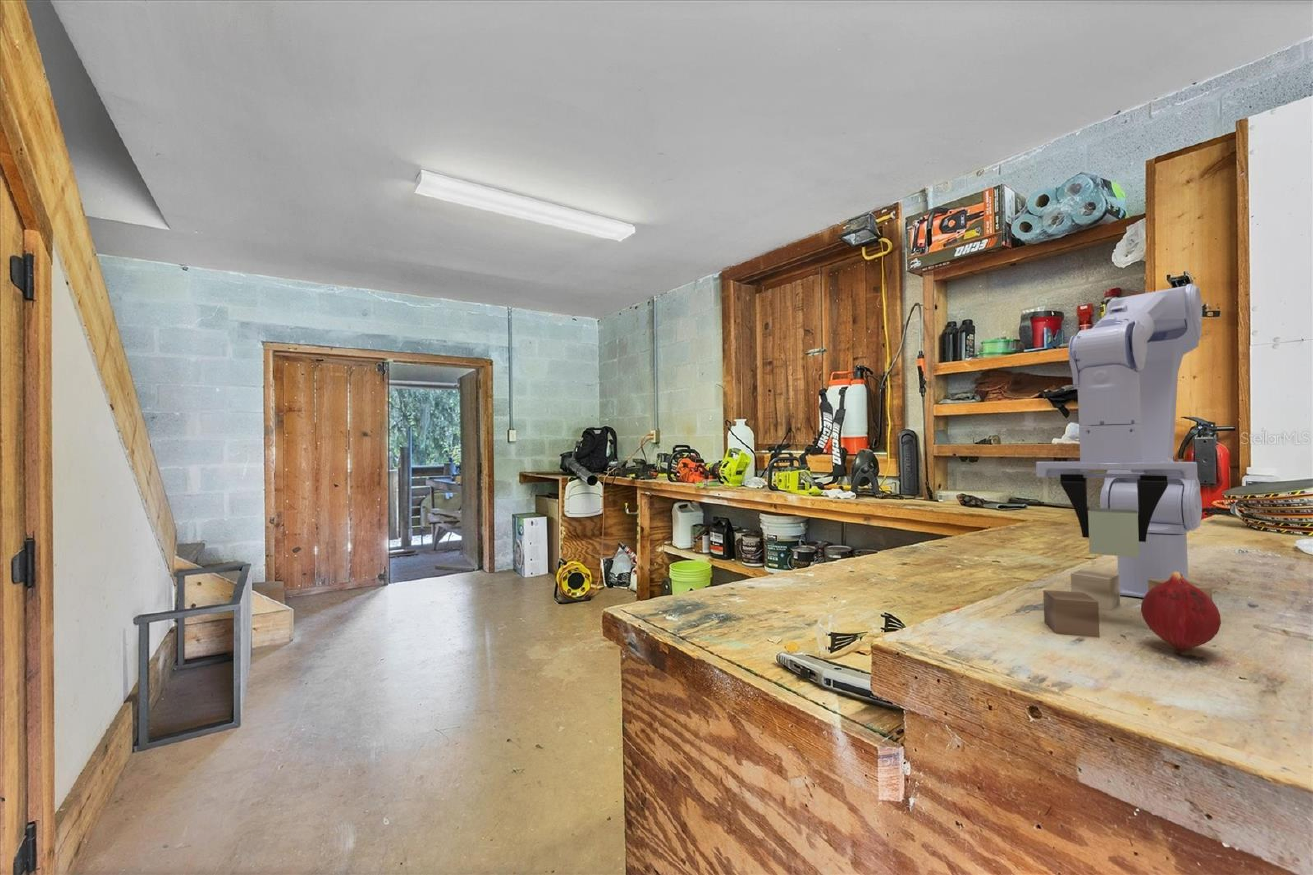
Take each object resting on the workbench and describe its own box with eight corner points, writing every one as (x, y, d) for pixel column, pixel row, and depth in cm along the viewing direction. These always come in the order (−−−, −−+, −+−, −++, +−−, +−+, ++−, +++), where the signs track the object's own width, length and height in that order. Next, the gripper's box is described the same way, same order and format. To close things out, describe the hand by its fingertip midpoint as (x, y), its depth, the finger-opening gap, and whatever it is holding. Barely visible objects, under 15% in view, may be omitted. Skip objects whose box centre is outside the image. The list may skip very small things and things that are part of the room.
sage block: (1090, 547, 67) (1089, 507, 67) (1137, 551, 64) (1136, 509, 64) (1089, 553, 63) (1088, 511, 63) (1139, 557, 60) (1137, 513, 60)
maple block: (1082, 598, 73) (1081, 569, 73) (1119, 605, 70) (1118, 574, 70) (1071, 603, 71) (1070, 573, 71) (1109, 610, 68) (1108, 579, 68)
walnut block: (1044, 623, 64) (1043, 589, 64) (1084, 626, 62) (1083, 592, 62) (1056, 634, 60) (1054, 599, 60) (1099, 638, 59) (1098, 601, 59)
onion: (1239, 663, 51) (1236, 580, 51) (1169, 660, 52) (1166, 578, 52) (1191, 641, 57) (1189, 566, 57) (1129, 638, 58) (1127, 565, 58)
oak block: (1148, 610, 67) (1147, 579, 68) (1182, 611, 67) (1181, 579, 67) (1176, 621, 63) (1175, 587, 64) (1213, 621, 63) (1211, 587, 63)
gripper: (1032, 427, 66) (1035, 537, 65) (1199, 422, 56) (1204, 550, 56) (1037, 428, 71) (1041, 529, 71) (1191, 423, 61) (1195, 540, 61)
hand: (1113, 538), depth 64 cm, fingers closed on sage block, 4 cm apart
